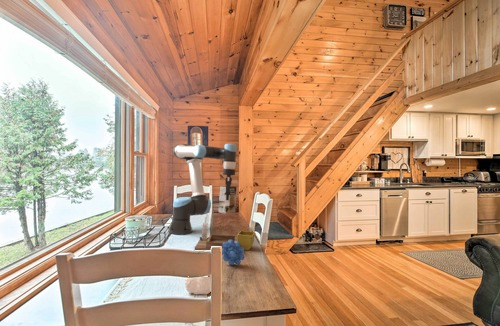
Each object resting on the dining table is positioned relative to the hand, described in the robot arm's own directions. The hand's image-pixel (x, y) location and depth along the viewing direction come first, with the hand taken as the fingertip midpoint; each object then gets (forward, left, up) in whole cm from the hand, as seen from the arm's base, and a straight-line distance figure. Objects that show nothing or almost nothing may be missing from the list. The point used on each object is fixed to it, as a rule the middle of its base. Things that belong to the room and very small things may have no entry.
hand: (227, 204), depth 152 cm
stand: (+11, -4, -23) cm, 26 cm away
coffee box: (0, 0, -5) cm, 5 cm away
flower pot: (+11, +13, -23) cm, 29 cm away
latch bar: (+7, -12, -16) cm, 21 cm away
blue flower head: (+37, +6, -23) cm, 44 cm away
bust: (+61, -4, -23) cm, 65 cm away
